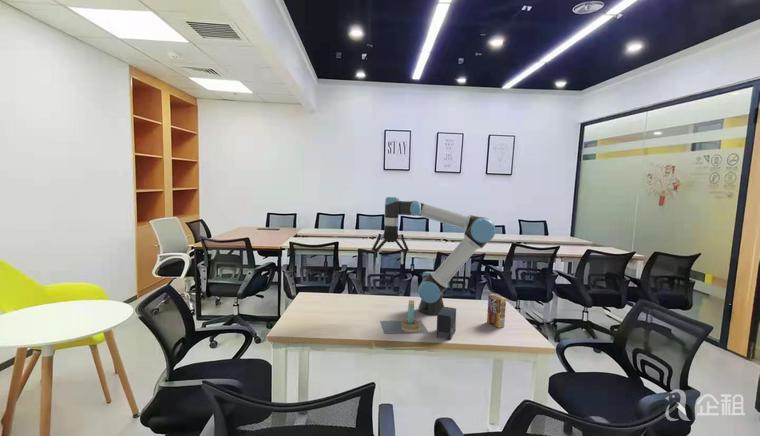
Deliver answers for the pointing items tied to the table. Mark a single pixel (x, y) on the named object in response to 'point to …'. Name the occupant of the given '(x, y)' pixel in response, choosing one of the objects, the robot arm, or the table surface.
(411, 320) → the teal and tan cylinder
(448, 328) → the small box
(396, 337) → the table surface
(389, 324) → the mat
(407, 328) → the bead
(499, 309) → the candy box
